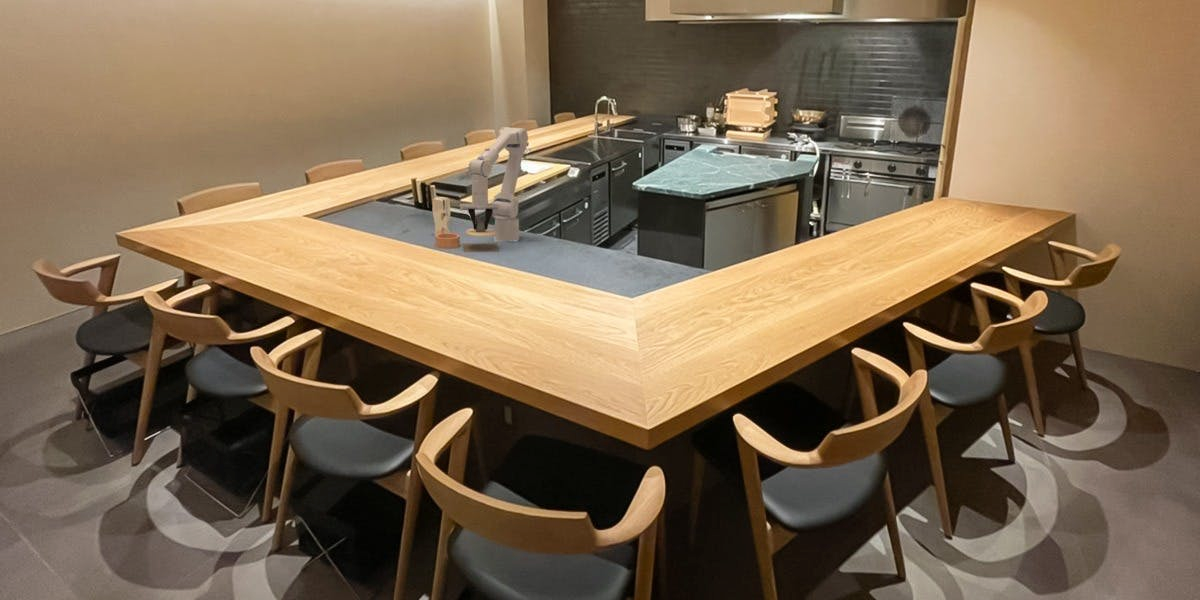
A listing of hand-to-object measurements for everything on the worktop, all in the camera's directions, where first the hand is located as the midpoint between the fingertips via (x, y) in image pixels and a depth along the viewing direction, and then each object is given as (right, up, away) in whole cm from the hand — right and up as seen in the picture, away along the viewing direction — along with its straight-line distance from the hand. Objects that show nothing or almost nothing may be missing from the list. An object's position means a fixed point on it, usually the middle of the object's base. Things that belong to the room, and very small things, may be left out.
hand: (480, 229), depth 250 cm
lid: (0, -2, 0) cm, 2 cm away
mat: (0, -7, +2) cm, 7 cm away
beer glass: (-19, -1, +19) cm, 27 cm away
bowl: (-13, -6, +3) cm, 15 cm away
